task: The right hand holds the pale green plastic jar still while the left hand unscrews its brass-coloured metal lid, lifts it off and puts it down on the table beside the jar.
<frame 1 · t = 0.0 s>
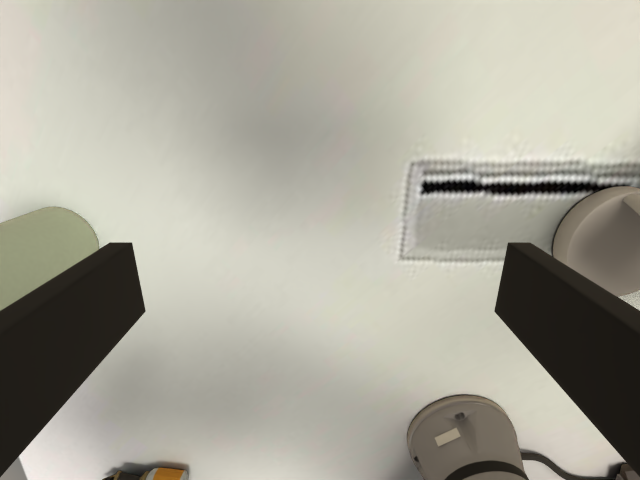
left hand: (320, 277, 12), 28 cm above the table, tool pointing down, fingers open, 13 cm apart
jar: (62, 241, 42), on the table
bust sculpture: (611, 207, 40), on the table
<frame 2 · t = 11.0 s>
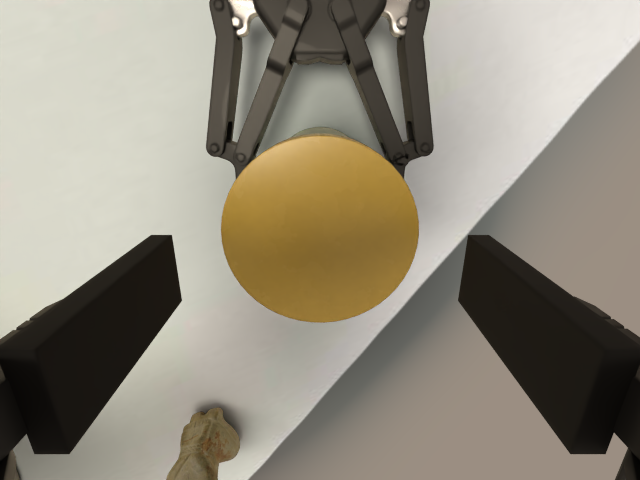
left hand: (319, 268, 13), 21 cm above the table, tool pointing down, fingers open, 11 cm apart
right hand: (320, 245, 28), fingers closed on jar, 9 cm apart
lid: (319, 235, 17), point 17 cm above the table, screwed on, not yet turned
sculpture: (217, 422, 43), on the table
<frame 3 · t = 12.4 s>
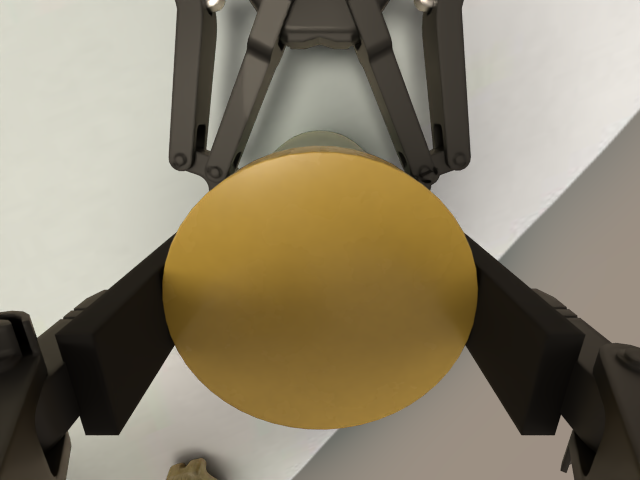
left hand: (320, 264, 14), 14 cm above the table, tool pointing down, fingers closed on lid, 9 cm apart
right hand: (320, 281, 22), fingers closed on jar, 9 cm apart
jar: (319, 189, 27), on the table, touching right hand
lid: (320, 306, 11), point 17 cm above the table, screwed on, not yet turned, touching left hand
sculpture: (200, 473, 37), on the table
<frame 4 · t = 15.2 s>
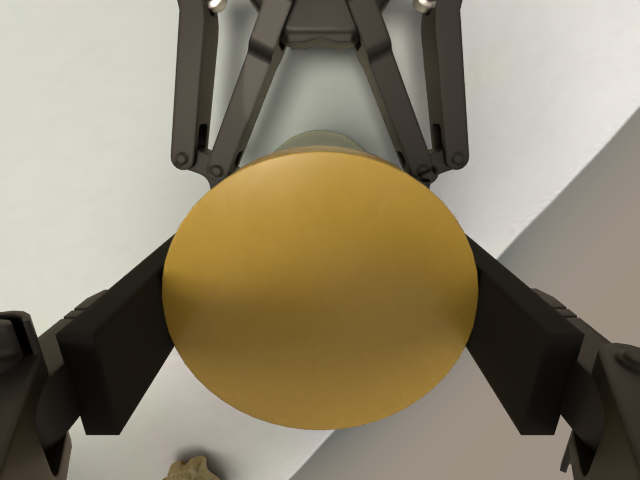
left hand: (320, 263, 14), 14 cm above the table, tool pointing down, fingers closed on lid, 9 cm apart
right hand: (320, 279, 23), fingers closed on jar, 9 cm apart
jar: (320, 188, 27), on the table, touching right hand
lid: (320, 306, 11), point 17 cm above the table, turned 82° so far, risen 0.3 cm, still on its thread, touching left hand
sculpture: (201, 471, 37), on the table
when the left hand's fingers open (0 cm above the table, at t = 22.3 s): lid drops 2 cm, point 1 cm above the table.
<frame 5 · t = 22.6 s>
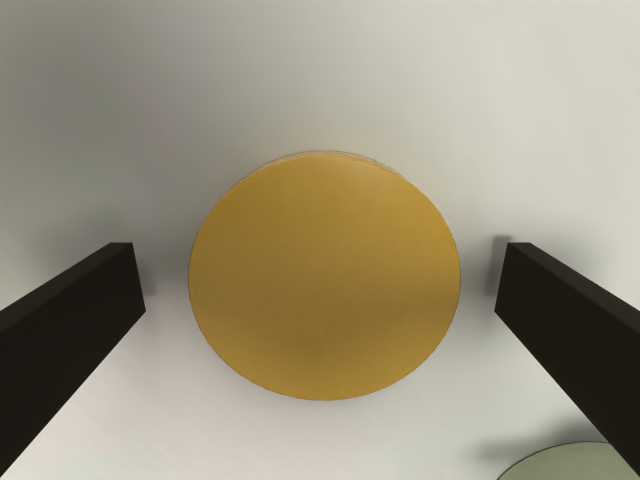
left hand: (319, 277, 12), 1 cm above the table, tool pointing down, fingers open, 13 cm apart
lid: (324, 289, 12), point 1 cm above the table, off its thread
when the right hand's fingers open (6 cm above the table, at t = 23.2 s): jar stays where it is, on the table.
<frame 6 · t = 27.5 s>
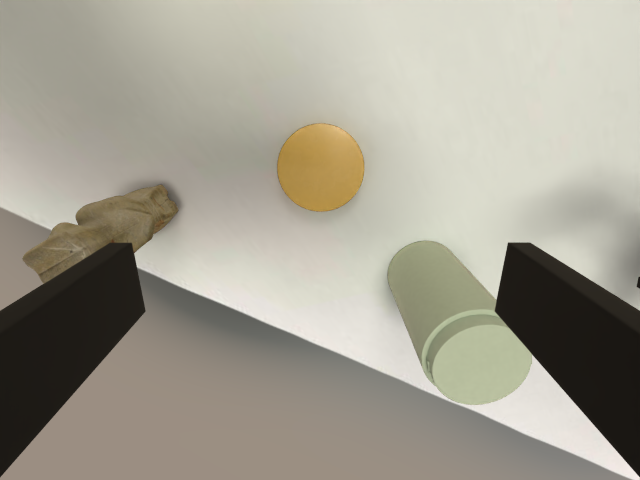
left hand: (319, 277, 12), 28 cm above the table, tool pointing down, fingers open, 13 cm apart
jar: (422, 273, 43), on the table
lid: (320, 169, 37), point 1 cm above the table, off its thread
sculpture: (153, 207, 40), on the table
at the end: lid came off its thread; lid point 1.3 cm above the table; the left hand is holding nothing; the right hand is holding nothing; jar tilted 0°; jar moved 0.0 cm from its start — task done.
